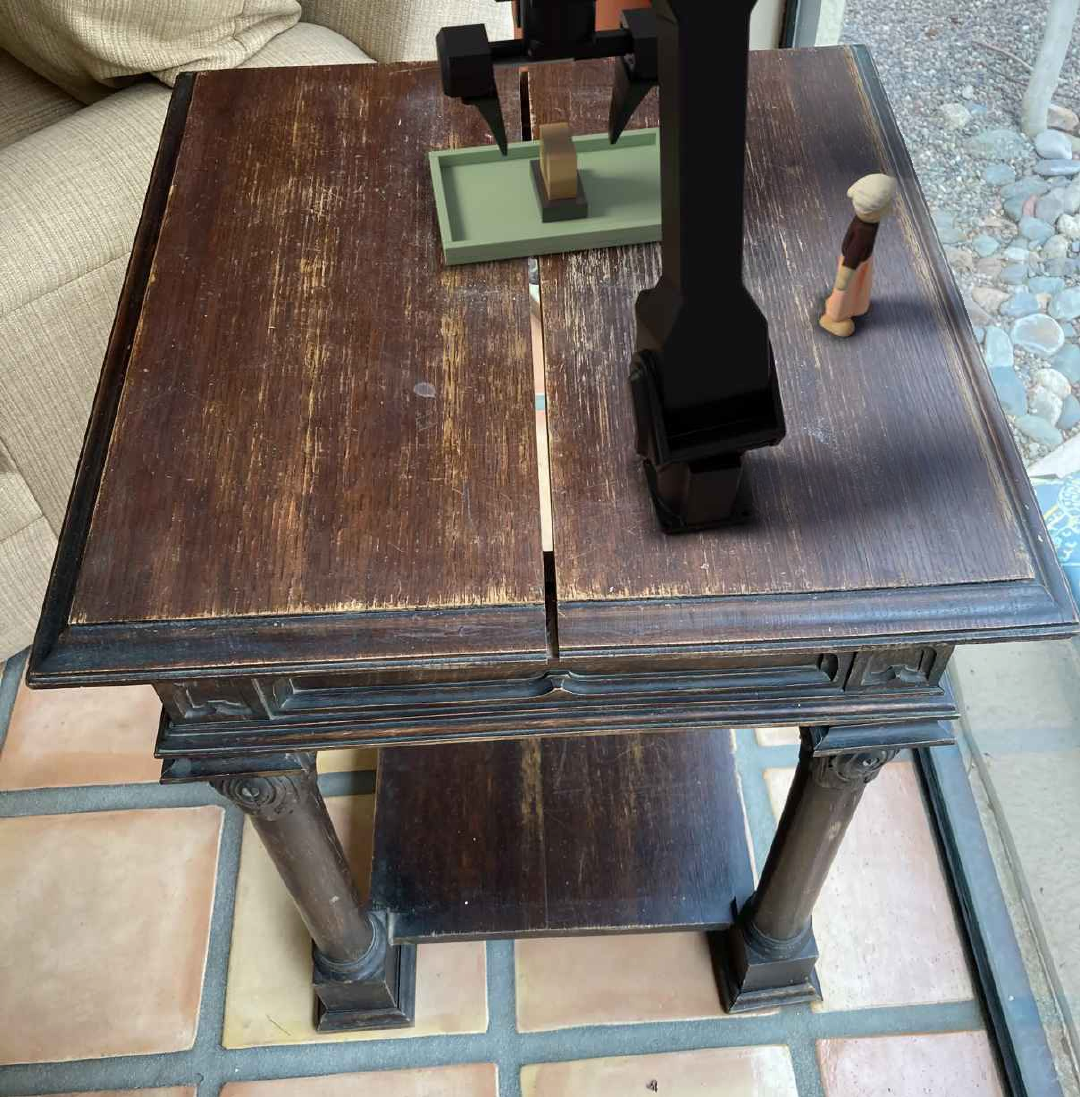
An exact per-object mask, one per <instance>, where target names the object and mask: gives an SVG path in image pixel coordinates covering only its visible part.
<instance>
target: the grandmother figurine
mask: <svg viewBox="0 0 1080 1097" xmlns="http://www.w3.org/2000/svg"><path fill="white" fill-rule="evenodd" d="M898 186H899V184H898V182H897V180H896V179H895V178H894V177H891V176H889V175H887V174H883V173H873V174H868V175H866V176H864V177H862V178H859V179H858V180H857V181H856V182H854V183H853V184H852V185H851V186H850V187H849V189H848V190H847V193H846V194H847V197H848V198H849V199H852V206H853V207H854V211H855V215H854V217H853V218H852V220H851V221H850V224H849V226H848V228H847V230H846V233H845V235H844V236H843V240H842V242H841V249H840V251H841V253H840V255H839V259H838V260H839V262H838V266H837V267H838V268H837V275H836V279H835V282H834V288H833V291H832V294H831V295H830V296H829V297H828V298H827V299H826V300H825V303H824V307H825V309H826V310H825V313H824V314H823V315H822V316H821V318H820V319H819V325H820V326H821V327H822V328H823V329H825V330H826V331H828V332H830V333H832V334H834V335H835V336H838V337H843V338H844V337H848V336H850V335H852V333H853V332H854V331H855V324H854V321H853V320H852V319H851V318H852V317H853V316H862V315H864V314H865V313H867V311H868V310H869V305H870V301H871V295H872V289H873V288H872V287H873V272H874V248H875V244H876V239H877V235H878V232H879V229H880V224H881V221H883V220H884V219H885V218H886V217H888V215H889V213H890V212H891V209H892V206H893V199H892V197H894V194H896V193H897V190H898Z"/></svg>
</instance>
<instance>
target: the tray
mask: <svg viewBox="0 0 1080 1097" xmlns="http://www.w3.org/2000/svg"><path fill="white" fill-rule="evenodd" d="M571 137H572V140H573V144H574V147H575V150H576V154H577V168H578V172H579V175H580V179H581V182H582V185H583V189H584V192H585V195H586V199H587V202H588V218H582V219H574V220H565V221H556V222H548V223H542V220H541V216H540V212H539V208H538V204H537V200H536V196H535V192H534V188H533V184H532V180H531V176H530V160H538V159H540V139H537V140H536V139H535V140H528V141H518V142H507V143H508V155H507V156H503V155H502V153H501V151H500V149H499V146H498V144H491V145H482V146H472V147H461V148H453V149H452V148H451V149H444V150H437V151H436V150H435V151H428V158H429V168H430V175H431V180H432V186H433V194H434V199H435V205H436V212H437V219H438V224H439V230H440V236H441V243H442V249H443V255H444V260H445V266H455V265H464V264H471V263H472V264H473V263H480V262H481V263H482V262H490V261H498V260H507V259H515V258H525V257H533V256H542V255H550V254H558V253H566V252H567V253H568V252H575V251H583V250H593V249H601V248H609V247H617V246H618V247H619V246H627V245H636V244H645V243H652V242H662V230H661V184H660V138H659V126H657V127H648V128H639V129H630V130H623V131H622V133H621V135H620V137H619V138H618V140H617V142H616V144H614V145H611V144H610V142H609V138H608V132H601V133H591V134H583V135H573V136H571Z"/></svg>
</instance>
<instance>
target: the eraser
mask: <svg viewBox="0 0 1080 1097" xmlns="http://www.w3.org/2000/svg"><path fill="white" fill-rule="evenodd" d="M572 137H573V136H572V134H571V131H570V127H569V124H568V122H567V121H564V122H555V123H547V124H539V140H540V159H538V160H530V176H531V180H532V184H533V188H534V192H535V196H536V200H537V204H538V208H539V212H540V216H541V220H542V223H548V222H556V221H565V220H574V219H582V218H588V202H587V199H586V195H585V192H584V189H583V185H582V182H581V179H580V175H579V172H578V168H577V154H576V150H575V147H574V144H573V140H572Z"/></svg>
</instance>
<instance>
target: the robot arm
mask: <svg viewBox="0 0 1080 1097" xmlns="http://www.w3.org/2000/svg"><path fill="white" fill-rule="evenodd" d="M648 1H649V3H650V4H651V6H647V7H646V6H645V7H635V8H626V9H625V8H624V9H622V10H621V11H620V12H619V15H618V16H619V17H618V28H614V29H613V28H612V29H603V30H596V26H597V25H596V24H597V2H598V0H494V2H495V3H505V2H514V21H515V25H516V28H517V29H520V33H521V34H520V36H521V37H520V38H512V39H511V38H510V39H501V40H492V41H491V40H489V36H488V33H487V28H486V24H485V22H482V23H470V24H460V25H452V26H442V27H441V28H440V29H439V31H438V32H437V34H436V35H435V48H436V49H435V50H436V60H437V63H438V68H439V76H440V81H441V86H442V92H443V95H444V96H445V97H448V98H450V99H456V98H457V99H459V98H460V102H461V104H462V105H464V106H474V107H476V109H477V110H478V112H479V113H480V116H482V118H483V119H484V121H485V122H486V124H487V125H488V127H489V129H490V131H491V133H492V135H493V137H494V140H495V142H496V145H498V146H499V149H500V151H501V153H502V155H503V156H507V155H508V143H509V142H508V138H507V132H506V127H505V121H504V117H503V112H502V111H503V110H502V105H501V102H500V100H501V99H500V96H499V91H498V87H497V83H496V79H495V71H497V70H506V69H514V68H515V69H517V68H525V67H526V68H527V67H536V66H544V65H545V66H546V65H556V64H565V63H566V64H567V63H573V62H576V61H578V62H579V61H587V60H596V59H606V58H608V59H609V58H614V77H613V85H612V92H611V100H610V107H609V114H608V121H607V122H608V123H607V124H608V125H607V126H608V128H607V130H608V132H607V133H608V138H609V142H610V144H611V145H614V144H616V142H617V140H618V138H619V137H620V135H621V133H622V131H625V128H626V127H627V125H628V123H629V121H630V119H631V118H632V116H633V114H634V112H635V111H636V110H637V108H638V107H639V106H640V104H641V103H642V102H643V100H644V99H645V98H646V96H647V95H648V93H650V91H651V89H652V88H654V87H658V90H657V91H658V92H657V93H658V127H659V138H660V184H661V230H662V241H661V266H662V267H661V275H660V277H659V278H658V280H657V282H656V284H655V286H654V287H651V288H647V289H646V288H645V289H641V290H639V292H638V294H637V297H636V299H635V303H634V314H635V326H636V327H635V328H636V338H635V346H634V347H635V350H636V351H634V352H633V353H632V354H631V356H630V357H631V358H630V362H629V365H628V369H629V375H628V377H627V385H628V391H629V397H630V398H629V399H630V405H631V415H632V420H633V424H634V442H633V449H634V451H635V453H636V454H637V455H639V456H641V457H644V459H643V460H642V462H641V468H642V473H643V477H644V480H645V483H646V487H647V491H648V494H649V497H650V501H651V505H652V509H653V513H654V517H655V520H656V523H657V526H658V530H659V532H661V533H663V534H674V533H675V534H676V533H681V532H688V531H696V530H703V529H710V528H711V529H712V528H716V527H725V526H733V525H739V524H747V523H749V522H750V521H751V520H752V517H753V512H752V509H751V506H750V503H749V500H748V497H747V495H746V492H745V491H746V490H745V489H744V486H743V483H742V479H741V478H742V473H743V468H744V464H745V459H746V455H747V452H749V451H753V450H757V449H762V448H766V447H770V448H772V447H773V448H774V447H777V446H779V445H780V444H781V442H783V440H784V439H785V438H786V436H787V426H786V420H785V414H784V409H783V408H784V407H783V402H782V397H781V390H780V384H779V378H778V373H777V366H776V360H775V355H774V348H773V345H772V341H771V339H770V335H769V333H770V332H769V321H768V319H767V318H766V316H765V315H764V313H763V311H762V310H761V308H760V307H759V305H758V303H757V302H756V301H755V299H754V298H753V296H752V295H751V292H750V291H749V290H748V289H747V287H746V286H745V284H744V249H745V248H744V245H745V244H744V243H745V242H744V241H745V211H746V207H745V206H746V177H747V174H746V173H747V142H748V141H747V140H748V139H747V138H748V110H749V109H748V106H749V105H748V102H749V73H750V72H749V71H750V70H749V68H750V40H751V39H750V38H751V20H752V18H751V17H752V14H753V13H752V12H753V10H754V9H755V7H756V5H757V4H758V2H759V0H648ZM744 515H745V516H744Z"/></svg>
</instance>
